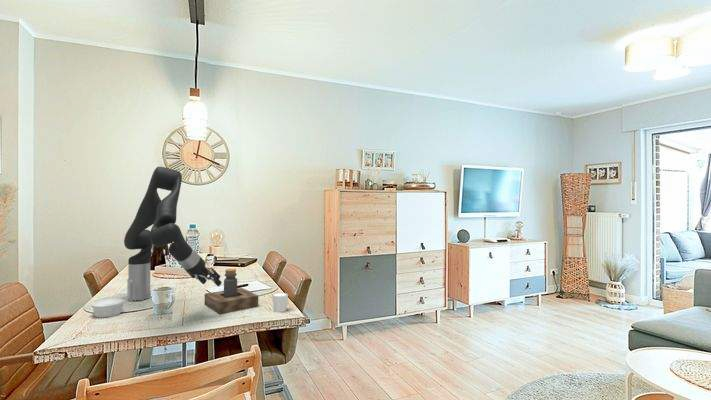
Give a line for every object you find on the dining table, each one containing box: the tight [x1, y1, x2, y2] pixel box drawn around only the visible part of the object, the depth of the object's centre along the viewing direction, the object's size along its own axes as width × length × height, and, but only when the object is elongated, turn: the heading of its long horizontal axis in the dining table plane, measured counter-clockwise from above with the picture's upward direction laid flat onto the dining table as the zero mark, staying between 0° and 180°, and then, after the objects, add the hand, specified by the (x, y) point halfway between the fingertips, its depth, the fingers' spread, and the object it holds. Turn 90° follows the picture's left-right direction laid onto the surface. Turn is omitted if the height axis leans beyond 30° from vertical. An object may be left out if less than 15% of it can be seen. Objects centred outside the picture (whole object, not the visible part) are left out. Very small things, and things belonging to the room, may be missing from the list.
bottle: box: [223, 268, 238, 298], centre depth 171 cm, size 6×6×15 cm
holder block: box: [203, 287, 259, 315], centre depth 171 cm, size 18×18×5 cm
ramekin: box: [91, 298, 125, 319], centre depth 157 cm, size 11×11×5 cm
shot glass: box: [272, 292, 289, 313], centre depth 165 cm, size 7×7×7 cm
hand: (212, 283), depth 161 cm, fingers open, 8 cm apart
